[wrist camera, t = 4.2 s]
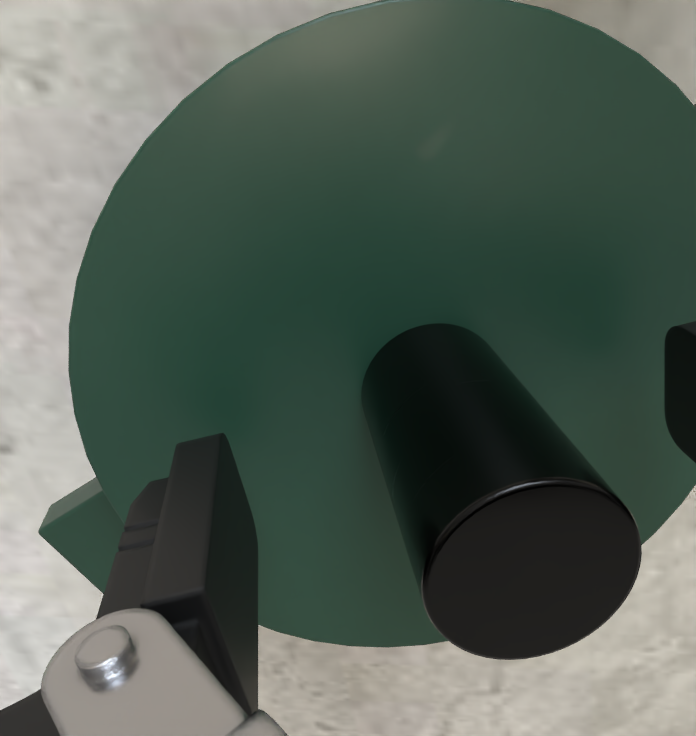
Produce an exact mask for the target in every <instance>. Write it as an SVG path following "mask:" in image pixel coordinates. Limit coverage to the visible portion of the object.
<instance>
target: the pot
mask: <svg viewBox="0 0 696 736" xmlns="http://www.w3.org/2000/svg"><path fill="white" fill-rule="evenodd" d="M694 106H695V107H696V104H695V105H694ZM122 532H124V523H123V522H122V520H121V519H120V517H119V515H118V514H117V512H116V511H115V509H114V508H113V506H112V505H111V503H110V502H109V500H108V499H107V497H106V495H105V494H104V492H103V490H102V488H101V485H100V483H99V481H98V479H97V477H96V478H94V479H92V480H91V481H89V482H88V483H86V484H84V485H83V486H81V487H80V488H78V489H76V490H75V491H73V492H72V493H70V494H68V495H67V496H65V497H63V498H62V499H60V500H59V501H57V502H55V503H54V504H52V505H51V506H50V508H49V510H48V512H47V514H46V516H45V518H44V520H43V522H42V524H41V526H40V529H39V534H40V535H41V536H42V537H43V538H44V539H45V540H46V541H47V542H48V543H49V544H50V545H51V546H53V547H54V548H55V549H56V550H57V551H58V552H59V553H60V554H61V555H62V556H63V557H64V558H65V559H67V560H68V561H69V562H70V563H71V564H72V565H73V566H74V567H75V568H76V569H77V570H78V571H79V572H80V573H82V574H83V575H84V576H85V577H86V578H87V579H88V580H89V581H90V582H91V583H92V584H93V585H94V586H96V587H97V588H98V589H99V590H100V591H101V592H102V593H103V594H104V591H105V588H106V585H107V581H108V578H109V575H110V572H111V568H112V565H113V562H114V558H115V555H116V552H119V550H118V545H119V542H120V538H121V535H122Z"/></svg>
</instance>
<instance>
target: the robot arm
mask: <svg viewBox="0 0 696 736" xmlns="http://www.w3.org/2000/svg"><path fill="white" fill-rule="evenodd" d="M664 412H665V420H666V424H667V427H668V430H669V433H670V435H671V437H672V439H673V441H674V442H675V444H676V445H677V446H678V447H679V448H680V449H681V450H682V451H683V452H684V453H685V454H686V455H687V456H688V457H689V458H691V459H692V460H693V461H694V462H695V463H696V321H694V322H690V323H686V324H682V325H677V326H673V327H671V328H670V329H669V330H668V332H667V334H666V337H665V354H664ZM118 550H119V552H116V555H115V558H114V562H113V565H112V568H111V572H110V575H109V578H108V581H107V585H106V588H105V591H104V595H103V598H102V601H101V605H100V608H99V611H98V615H97V618H96V620H94V621H93V622H91V623H89V624H87V625H86V626H84V627H83V628H81V629H80V630H79V631H77V632H76V633H75V634H74V635H72V636H71V637H70V638H69V639H68V640H67V641H66V642H65V643H64V644H63V645H62V646H61V647H60V648H59V649H58V650H57V652H56V653H55V654H54V656H53V657H52V658H51V660H50V662H49V664H48V665H47V667H46V670H45V672H44V675H43V678H42V683H41V689H40V690H38V691H37V692H35V693H33V694H31V695H30V696H28V697H26V698H24V699H22V700H20V701H18V702H16V703H14V704H12V705H10V706H8V707H6V708H4V709H2V710H0V736H288V735H287V734H286V733H285V732H284V730H283V729H282V728H281V727H280V726H279V725H278V724H277V723H276V722H275V721H274V720H273V719H272V718H271V717H270V716H269V715H268V714H267V713H265V712H264V711H262V710H260V709H258V541H257V534H256V528H255V523H254V519H253V515H252V512H251V509H250V505H249V502H248V499H247V496H246V493H245V490H244V487H243V484H242V481H241V478H240V475H239V471H238V468H237V465H236V462H235V459H234V456H233V453H232V450H231V447H230V444H229V441H228V439H227V437H226V435H225V434H224V433H219V434H215V435H211V436H207V437H202V438H198V439H194V440H190V441H186V442H181V443H178V444H177V445H176V448H175V452H174V456H173V461H172V465H171V469H170V474H169V477H167V478H163V479H159V480H155V481H151V482H149V483H148V484H147V486H146V487H145V488H144V489H143V490H142V492H141V493H140V494H139V495H138V496H137V498H136V499H135V500H134V501H133V502H132V504H131V505H130V508H129V512H128V515H127V518H126V522H125V525H124V532H122V535H121V538H120V542H119V545H118Z"/></svg>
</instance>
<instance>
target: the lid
mask: <svg viewBox="0 0 696 736" xmlns="http://www.w3.org/2000/svg"><path fill="white" fill-rule="evenodd" d="M694 321H696V107H695V106H694V105H693V104H692V103H691V102H690V100H689V99H688V98H687V97H686V96H685V95H684V93H683V92H682V91H681V90H680V89H679V87H678V86H677V85H676V84H675V83H673V82H672V81H671V80H670V79H669V78H668V77H666V76H665V75H664V74H663V73H662V72H660V71H659V70H658V69H657V68H656V67H655V66H653V65H652V64H651V63H650V62H649V61H647V60H646V59H645V58H644V57H643V56H642V55H640V54H639V53H637V52H636V51H634V50H632V49H631V48H629V47H627V46H626V45H624V44H622V43H621V42H619V41H617V40H616V39H614V38H612V37H611V36H609V35H607V34H606V33H604V32H602V31H601V30H599V29H597V28H595V27H592V26H590V25H587V24H585V23H582V22H580V21H577V20H575V19H572V18H570V17H567V16H565V15H562V14H560V13H557V12H555V11H552V10H550V9H545V8H541V7H536V6H532V5H527V4H523V3H518V2H514V1H509V0H381V1H377V2H373V3H369V4H365V5H361V6H357V7H353V8H349V9H345V10H341V11H337V12H333V13H329V14H327V15H324V16H322V17H319V18H317V19H314V20H312V21H310V22H307V23H305V24H302V25H300V26H297V27H295V28H292V29H290V30H287V31H285V32H283V33H280V34H278V35H276V36H274V37H272V38H271V39H269V40H267V41H265V42H264V43H262V44H260V45H259V46H257V47H255V48H254V49H252V50H250V51H249V52H247V53H245V54H243V55H242V56H240V57H238V58H237V59H235V60H233V61H232V62H230V63H228V64H227V65H225V66H224V67H223V68H222V69H220V70H219V71H218V72H217V73H215V74H214V75H213V76H212V77H211V78H209V79H208V80H207V81H206V82H204V83H203V84H202V85H201V86H199V87H198V88H197V89H196V90H194V91H193V92H192V93H191V94H189V95H188V96H187V97H186V98H184V99H183V100H182V101H181V102H180V103H179V104H178V106H177V107H176V108H175V109H174V110H173V111H172V112H171V113H170V114H169V115H168V116H167V117H166V118H165V120H164V121H163V122H162V123H161V124H160V125H159V126H158V127H157V128H156V129H155V130H154V131H153V132H152V134H151V135H150V136H149V137H148V138H147V139H146V140H145V141H144V143H143V144H142V146H141V147H140V149H139V150H138V151H137V153H136V154H135V156H134V157H133V159H132V160H131V162H130V163H129V165H128V166H127V167H126V169H125V170H124V172H123V173H122V175H121V176H120V178H119V179H118V180H117V182H116V183H115V185H114V187H113V189H112V191H111V193H110V195H109V197H108V199H107V201H106V203H105V205H104V207H103V209H102V211H101V213H100V215H99V217H98V219H97V222H96V224H95V226H94V228H93V230H92V232H91V235H90V238H89V241H88V245H87V248H86V251H85V254H84V257H83V260H82V263H81V266H80V270H79V273H78V276H77V280H76V286H75V292H74V298H73V304H72V310H71V316H70V323H69V378H70V385H71V392H72V400H73V407H74V414H75V418H76V421H77V424H78V428H79V431H80V435H81V438H82V441H83V445H84V448H85V452H86V455H87V457H88V459H89V462H90V464H91V466H92V468H93V470H94V472H95V475H96V477H97V479H98V481H99V483H100V485H101V488H102V490H103V492H104V494H105V495H106V497H107V499H108V500H109V502H110V503H111V505H112V506H113V508H114V509H115V511H116V512H117V514H118V515H119V517H120V519H121V520H122V522H123V523H124V525H125V522H126V518H127V515H128V512H129V508H130V505H131V504H132V502H133V501H134V500H135V499H136V498H137V496H138V495H139V494H140V493H141V492H142V490H143V489H144V488H145V487H146V486H147V484H148V483H149V482H151V481H155V480H159V479H163V478H167V477H169V474H170V469H171V465H172V461H173V456H174V452H175V448H176V445H177V444H178V443H181V442H186V441H190V440H194V439H198V438H202V437H207V436H211V435H215V434H219V433H224V434H225V435H226V437H227V439H228V441H229V444H230V447H231V450H232V453H233V456H234V459H235V462H236V465H237V468H238V471H239V475H240V478H241V481H242V484H243V487H244V490H245V493H246V496H247V499H248V502H249V505H250V509H251V512H252V515H253V519H254V523H255V528H256V534H257V541H258V625H261V626H263V627H266V628H269V629H271V630H274V631H277V632H280V633H284V634H288V635H292V636H296V637H300V638H304V639H308V640H312V641H317V642H324V643H332V644H339V645H346V646H362V647H400V646H415V645H426V644H432V643H438V642H445V641H450V642H451V643H452V644H454V645H456V646H457V647H459V648H461V649H463V650H465V651H467V652H470V653H472V654H475V655H478V656H482V657H486V658H493V659H505V660H515V659H526V658H532V657H538V656H542V655H546V654H549V653H553V652H555V651H558V650H561V649H563V648H566V647H568V646H570V645H572V644H574V643H576V642H578V641H580V640H581V639H583V638H585V637H586V636H588V635H590V634H591V633H592V632H594V631H595V630H596V629H598V628H599V627H600V626H602V625H603V624H604V623H605V622H606V621H607V620H608V619H609V618H610V617H611V616H612V615H613V614H614V613H615V612H616V611H617V610H618V609H619V607H620V606H621V605H622V603H623V602H624V601H625V599H626V598H627V596H628V594H629V593H630V591H631V589H632V587H633V585H634V583H635V580H636V578H637V575H638V571H639V568H640V562H641V554H642V553H641V545H642V544H643V543H644V542H646V541H647V540H648V539H649V538H650V537H651V536H652V535H653V534H654V533H655V532H656V531H657V530H658V529H659V528H660V527H661V526H662V525H663V524H664V522H665V521H666V520H667V519H668V518H669V517H670V516H671V515H672V514H673V513H674V511H675V510H676V509H677V508H678V507H679V506H680V505H681V504H682V502H683V501H684V500H685V498H686V497H687V495H688V494H689V493H690V491H691V490H692V489H693V487H694V486H695V485H696V463H695V462H694V461H693V460H692V459H691V458H689V457H688V456H687V455H686V454H685V453H684V452H683V451H682V450H681V449H680V448H679V447H678V446H677V445H676V444H675V442H674V441H673V439H672V437H671V435H670V433H669V430H668V427H667V424H666V420H665V412H664V354H665V337H666V334H667V332H668V330H669V329H670V328H671V327H673V326H677V325H682V324H686V323H690V322H694Z"/></svg>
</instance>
